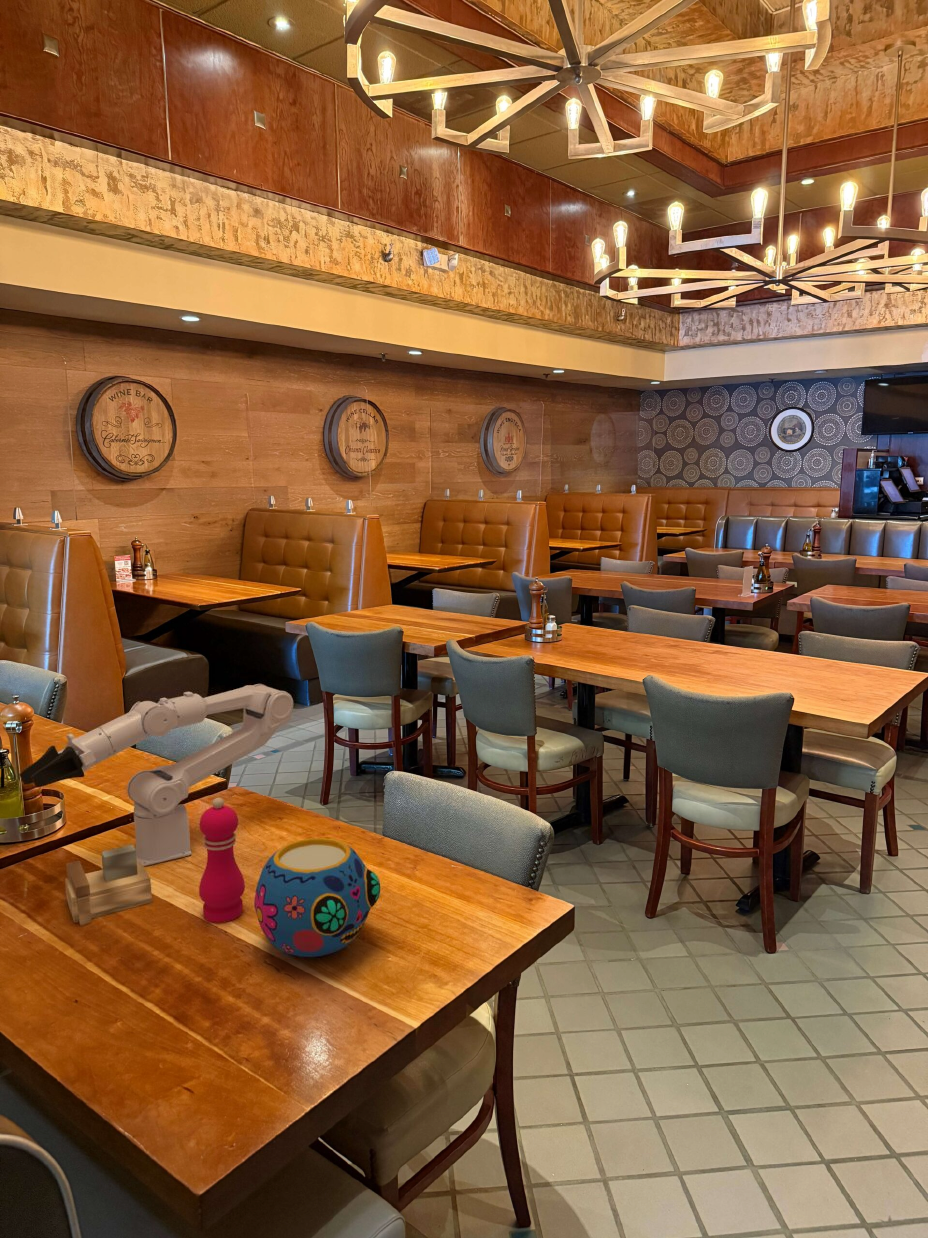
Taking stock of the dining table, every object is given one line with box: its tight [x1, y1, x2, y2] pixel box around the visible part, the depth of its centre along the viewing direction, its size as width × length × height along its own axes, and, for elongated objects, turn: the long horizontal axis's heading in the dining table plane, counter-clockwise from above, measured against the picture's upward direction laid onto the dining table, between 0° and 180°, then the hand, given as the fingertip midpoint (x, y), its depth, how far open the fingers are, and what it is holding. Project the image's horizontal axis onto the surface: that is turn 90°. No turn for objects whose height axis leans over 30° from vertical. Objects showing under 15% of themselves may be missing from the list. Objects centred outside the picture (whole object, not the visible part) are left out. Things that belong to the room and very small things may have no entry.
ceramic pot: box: [253, 837, 381, 958], centre depth 123 cm, size 18×18×15 cm
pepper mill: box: [198, 797, 246, 924], centre depth 132 cm, size 7×7×20 cm
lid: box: [64, 844, 152, 902], centre depth 136 cm, size 12×8×5 cm, turn 124°
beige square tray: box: [64, 883, 153, 926], centre depth 136 cm, size 12×11×4 cm
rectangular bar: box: [65, 860, 90, 898], centre depth 133 cm, size 2×10×2 cm, turn 34°
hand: (27, 780), depth 136 cm, fingers open, 7 cm apart
